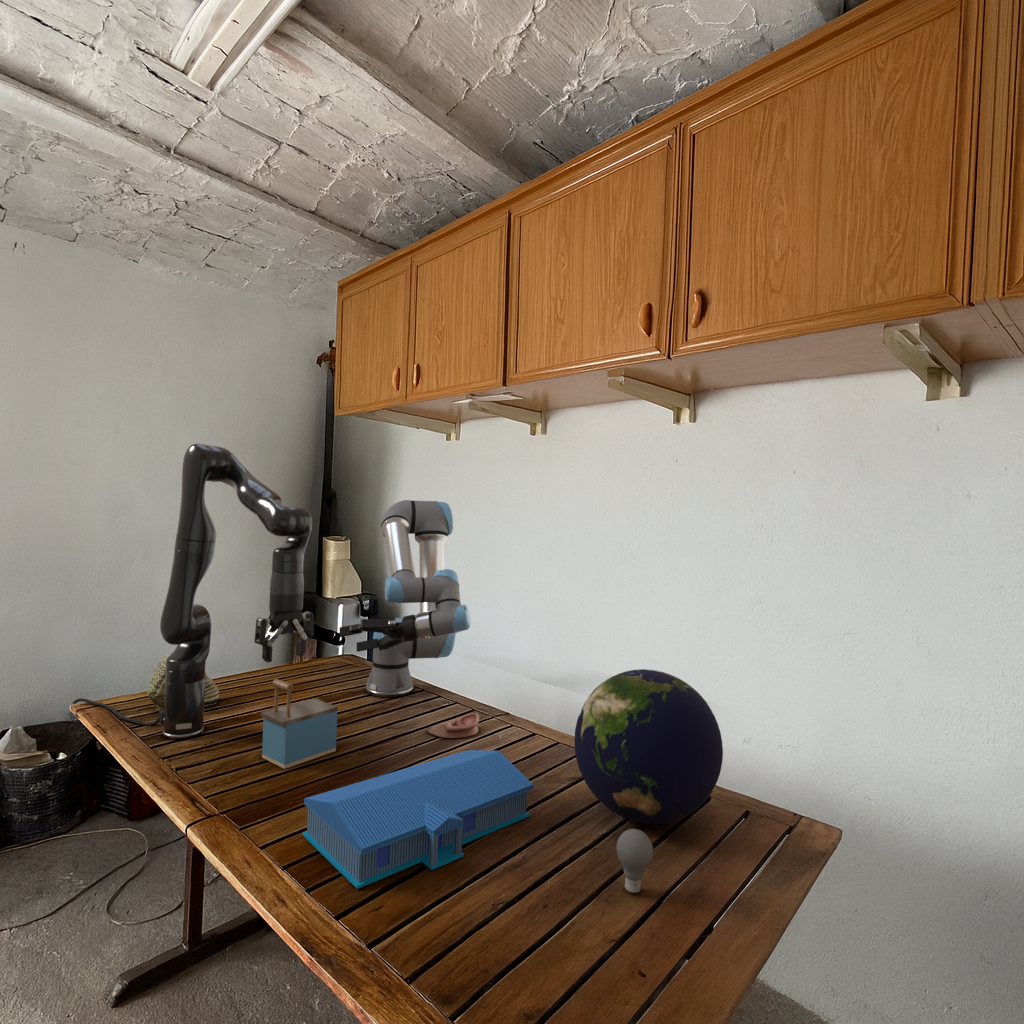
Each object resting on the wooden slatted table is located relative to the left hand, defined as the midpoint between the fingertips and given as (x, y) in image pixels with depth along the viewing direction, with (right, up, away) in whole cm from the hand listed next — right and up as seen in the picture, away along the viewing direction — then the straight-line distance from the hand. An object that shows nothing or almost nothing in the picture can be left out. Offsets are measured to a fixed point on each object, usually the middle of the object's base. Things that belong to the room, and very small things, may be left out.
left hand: (284, 658), depth 150 cm
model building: (+37, -27, -28) cm, 54 cm away
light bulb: (+74, -29, -45) cm, 91 cm away
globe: (+81, -28, -19) cm, 88 cm away
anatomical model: (+38, -26, +24) cm, 52 cm away
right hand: (+5, -3, +38) cm, 39 cm away
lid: (+2, -14, +4) cm, 15 cm away
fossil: (-42, -22, +35) cm, 59 cm away
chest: (+2, -25, +5) cm, 25 cm away
